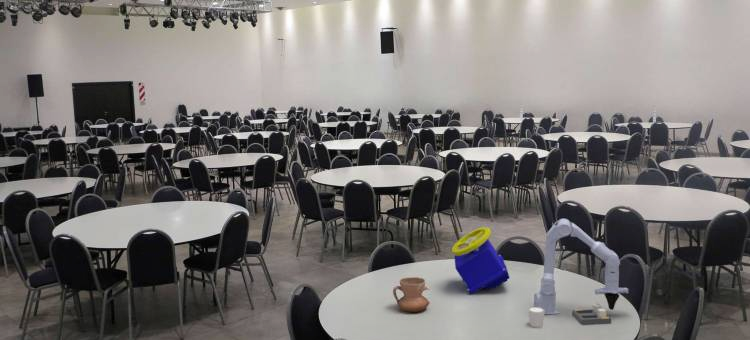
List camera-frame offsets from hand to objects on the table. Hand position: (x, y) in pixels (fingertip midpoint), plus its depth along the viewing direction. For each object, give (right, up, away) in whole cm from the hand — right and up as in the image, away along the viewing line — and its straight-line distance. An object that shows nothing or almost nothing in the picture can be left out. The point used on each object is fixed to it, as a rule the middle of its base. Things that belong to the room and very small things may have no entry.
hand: (611, 308), depth 277 cm
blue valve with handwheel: (-52, +1, +40) cm, 66 cm away
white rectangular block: (-7, -3, -6) cm, 9 cm away
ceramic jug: (-89, -4, +16) cm, 90 cm away
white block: (-6, -2, 0) cm, 7 cm away
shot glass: (-36, -6, -7) cm, 37 cm away
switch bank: (-10, -4, -3) cm, 11 cm away
